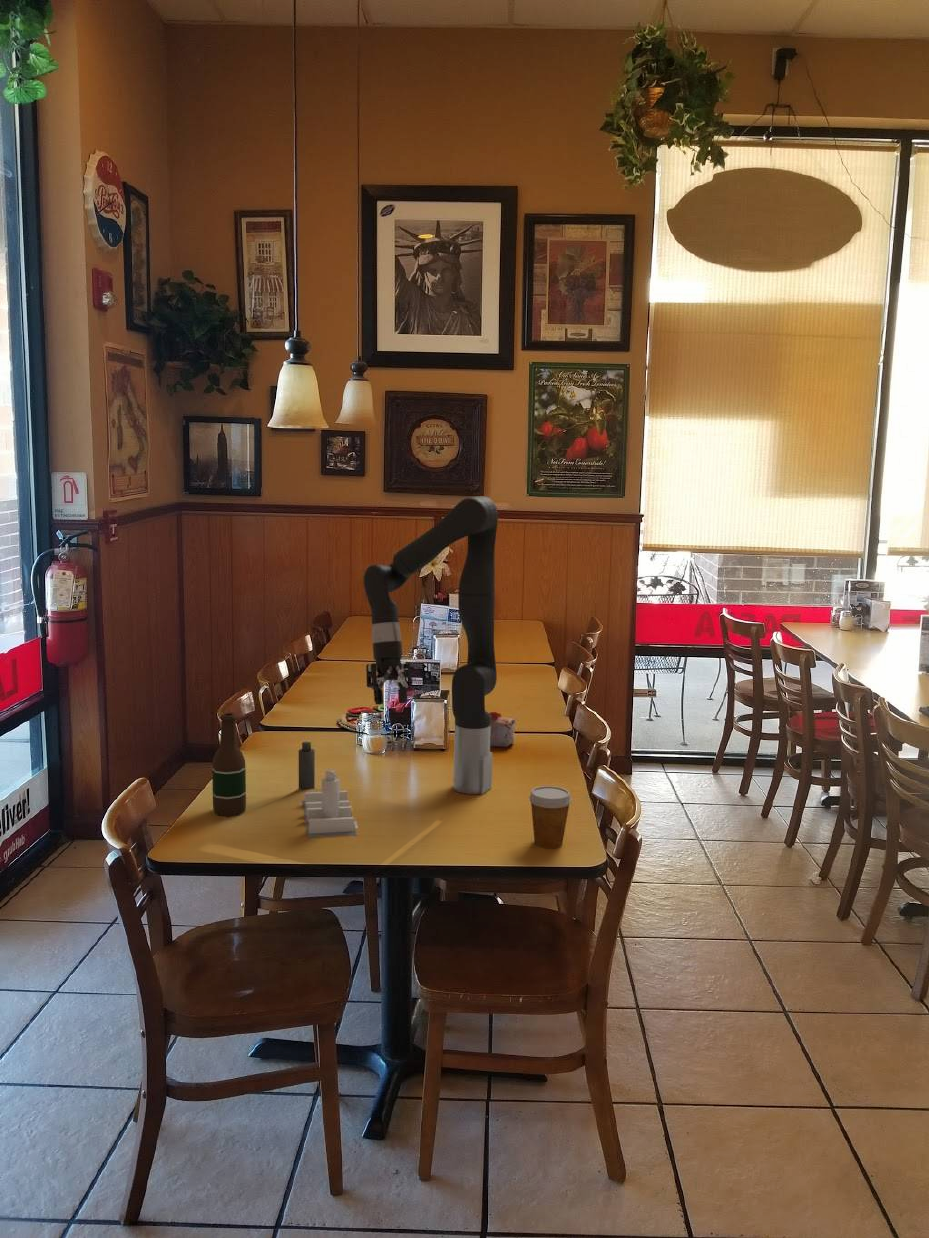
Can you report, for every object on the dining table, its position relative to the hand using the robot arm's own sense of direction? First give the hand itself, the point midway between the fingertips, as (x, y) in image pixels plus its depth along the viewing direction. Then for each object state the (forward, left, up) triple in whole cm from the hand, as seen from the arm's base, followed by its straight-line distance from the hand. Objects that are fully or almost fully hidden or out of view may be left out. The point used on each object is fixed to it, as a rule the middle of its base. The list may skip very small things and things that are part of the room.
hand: (391, 703), depth 263 cm
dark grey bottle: (+16, +16, -22) cm, 31 cm away
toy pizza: (+30, -51, -22) cm, 63 cm away
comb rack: (0, +32, -22) cm, 38 cm away
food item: (-10, -46, -22) cm, 52 cm away
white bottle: (-3, +36, -20) cm, 42 cm away
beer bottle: (+25, +36, -22) cm, 49 cm away
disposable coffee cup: (-50, +20, -22) cm, 58 cm away
